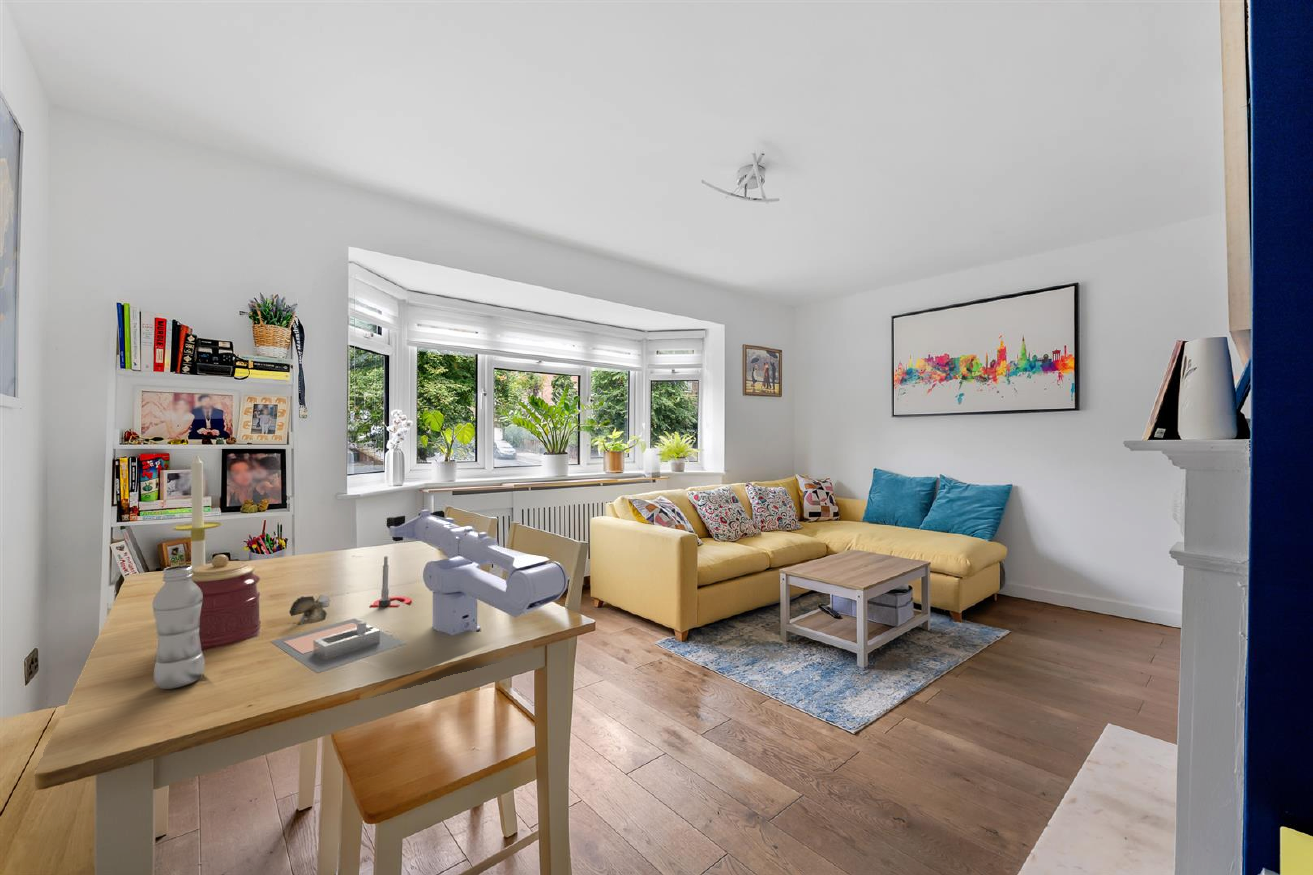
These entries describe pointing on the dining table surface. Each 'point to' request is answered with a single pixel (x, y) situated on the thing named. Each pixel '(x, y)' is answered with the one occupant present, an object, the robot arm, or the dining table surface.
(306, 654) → the post board
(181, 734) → the dining table surface
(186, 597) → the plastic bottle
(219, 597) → the canister
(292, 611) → the eagle figurine
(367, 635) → the c link
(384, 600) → the tow hook
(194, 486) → the candle
